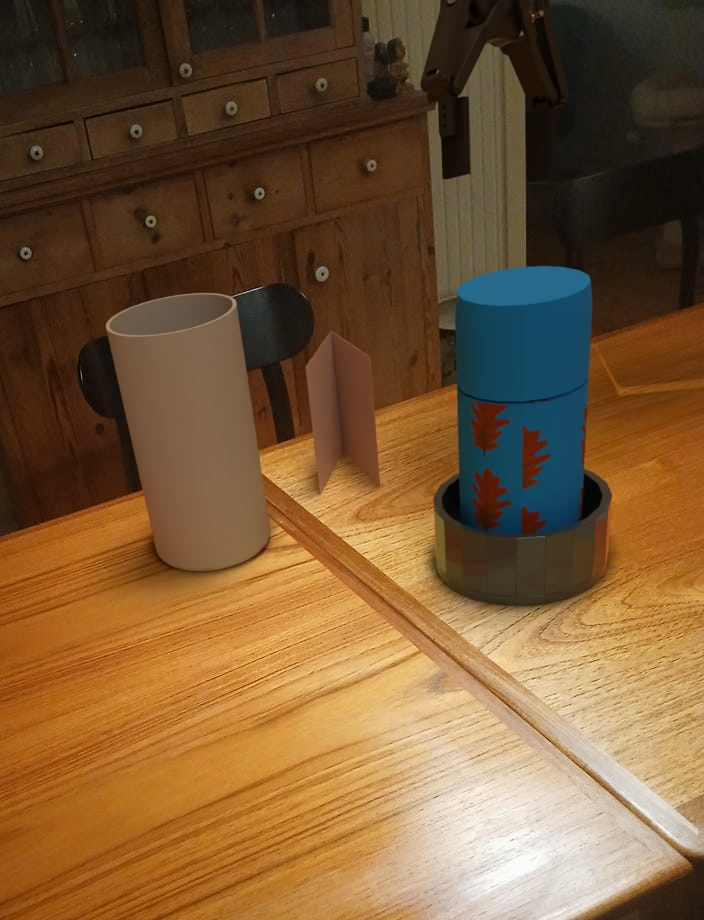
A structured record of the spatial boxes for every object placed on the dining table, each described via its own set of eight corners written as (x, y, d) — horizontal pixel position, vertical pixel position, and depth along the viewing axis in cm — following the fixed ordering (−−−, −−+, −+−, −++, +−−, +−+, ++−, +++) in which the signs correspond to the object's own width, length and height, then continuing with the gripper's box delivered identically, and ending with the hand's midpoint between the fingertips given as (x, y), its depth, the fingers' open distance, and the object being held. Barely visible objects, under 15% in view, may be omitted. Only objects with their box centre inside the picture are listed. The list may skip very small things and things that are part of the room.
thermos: (511, 514, 100) (512, 260, 86) (603, 545, 92) (621, 272, 78) (437, 557, 95) (426, 296, 81) (528, 594, 88) (533, 313, 74)
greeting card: (335, 451, 121) (323, 331, 113) (395, 451, 119) (387, 327, 111) (312, 494, 113) (297, 367, 104) (376, 494, 110) (366, 364, 102)
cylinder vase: (167, 586, 101) (113, 346, 87) (149, 533, 111) (99, 311, 97) (284, 556, 102) (249, 315, 88) (256, 507, 112) (221, 285, 98)
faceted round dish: (590, 516, 99) (594, 452, 95) (622, 600, 86) (627, 530, 82) (432, 528, 102) (429, 467, 98) (440, 611, 89) (438, 544, 85)
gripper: (539, -34, 101) (540, 189, 107) (374, -79, 87) (385, 182, 92) (606, -62, 95) (603, 175, 101) (442, -116, 81) (450, 165, 87)
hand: (499, 179), depth 97 cm, fingers open, 13 cm apart
